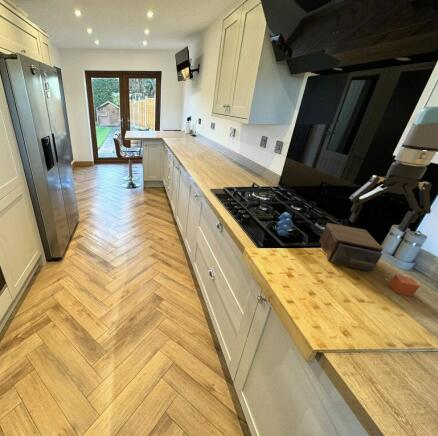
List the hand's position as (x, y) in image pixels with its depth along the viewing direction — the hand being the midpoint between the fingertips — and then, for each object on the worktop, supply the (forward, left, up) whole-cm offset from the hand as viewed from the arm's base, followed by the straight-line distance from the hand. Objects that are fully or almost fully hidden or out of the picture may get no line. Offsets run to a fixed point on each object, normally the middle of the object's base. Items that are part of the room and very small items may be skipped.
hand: (375, 225), depth 80 cm
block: (-12, +6, -19) cm, 23 cm away
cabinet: (0, -11, -19) cm, 22 cm away
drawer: (0, -6, -18) cm, 19 cm away
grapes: (+22, -17, -19) cm, 34 cm away
